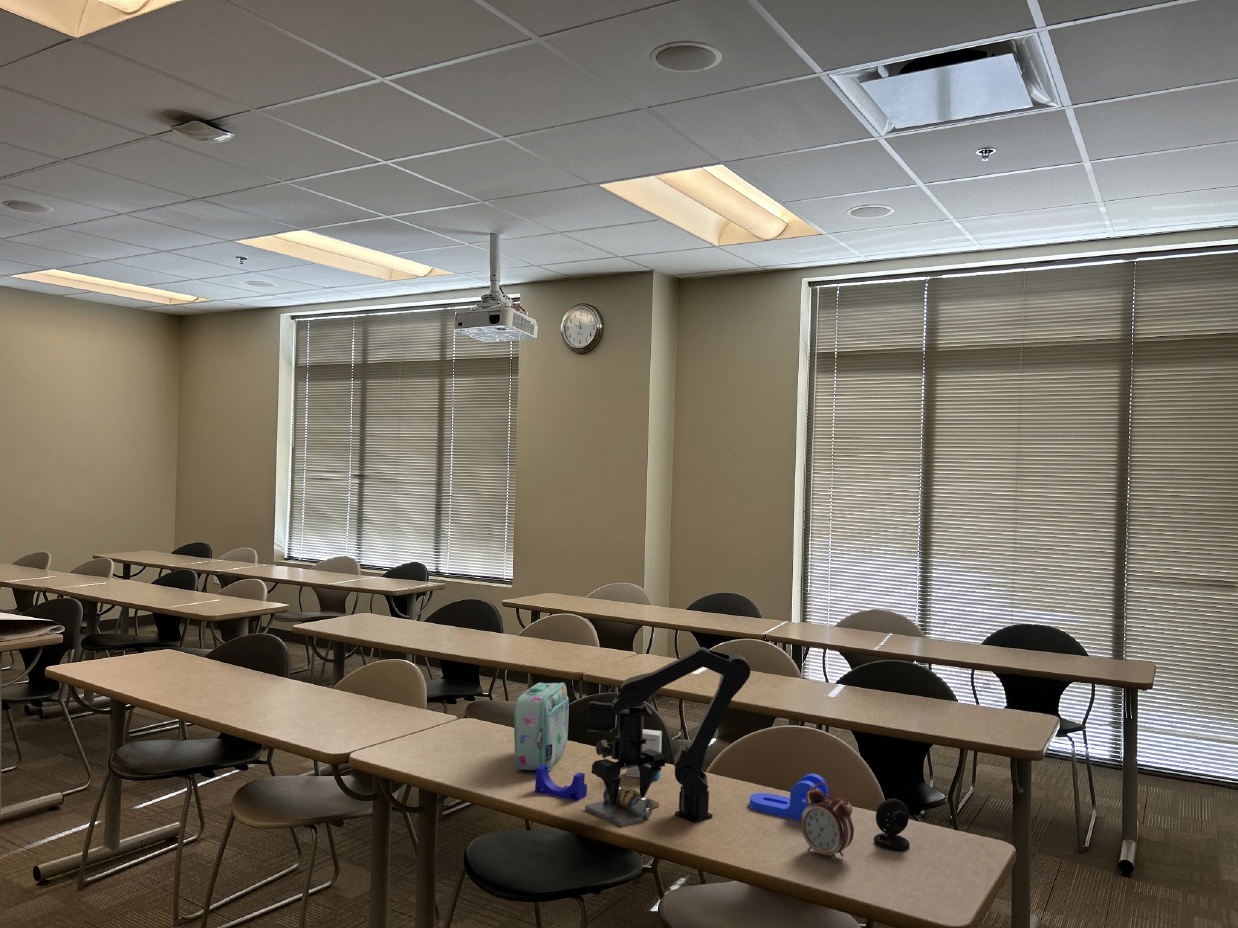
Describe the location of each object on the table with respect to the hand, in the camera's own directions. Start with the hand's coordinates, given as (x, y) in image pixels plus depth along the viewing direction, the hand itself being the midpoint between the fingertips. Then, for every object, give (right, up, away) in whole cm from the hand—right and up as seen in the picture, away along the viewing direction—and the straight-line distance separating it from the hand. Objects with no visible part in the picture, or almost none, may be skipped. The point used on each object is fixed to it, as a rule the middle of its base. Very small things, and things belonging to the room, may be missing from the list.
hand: (627, 800), depth 205 cm
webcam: (+58, -5, -13) cm, 59 cm away
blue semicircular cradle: (-16, -3, +10) cm, 19 cm away
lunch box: (-23, -3, +34) cm, 41 cm away
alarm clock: (+42, -4, -21) cm, 47 cm away
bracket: (+38, -5, +5) cm, 39 cm away
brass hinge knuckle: (+2, -2, +2) cm, 4 cm away
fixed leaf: (-2, -2, -2) cm, 4 cm away
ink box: (+4, -4, +26) cm, 27 cm away
